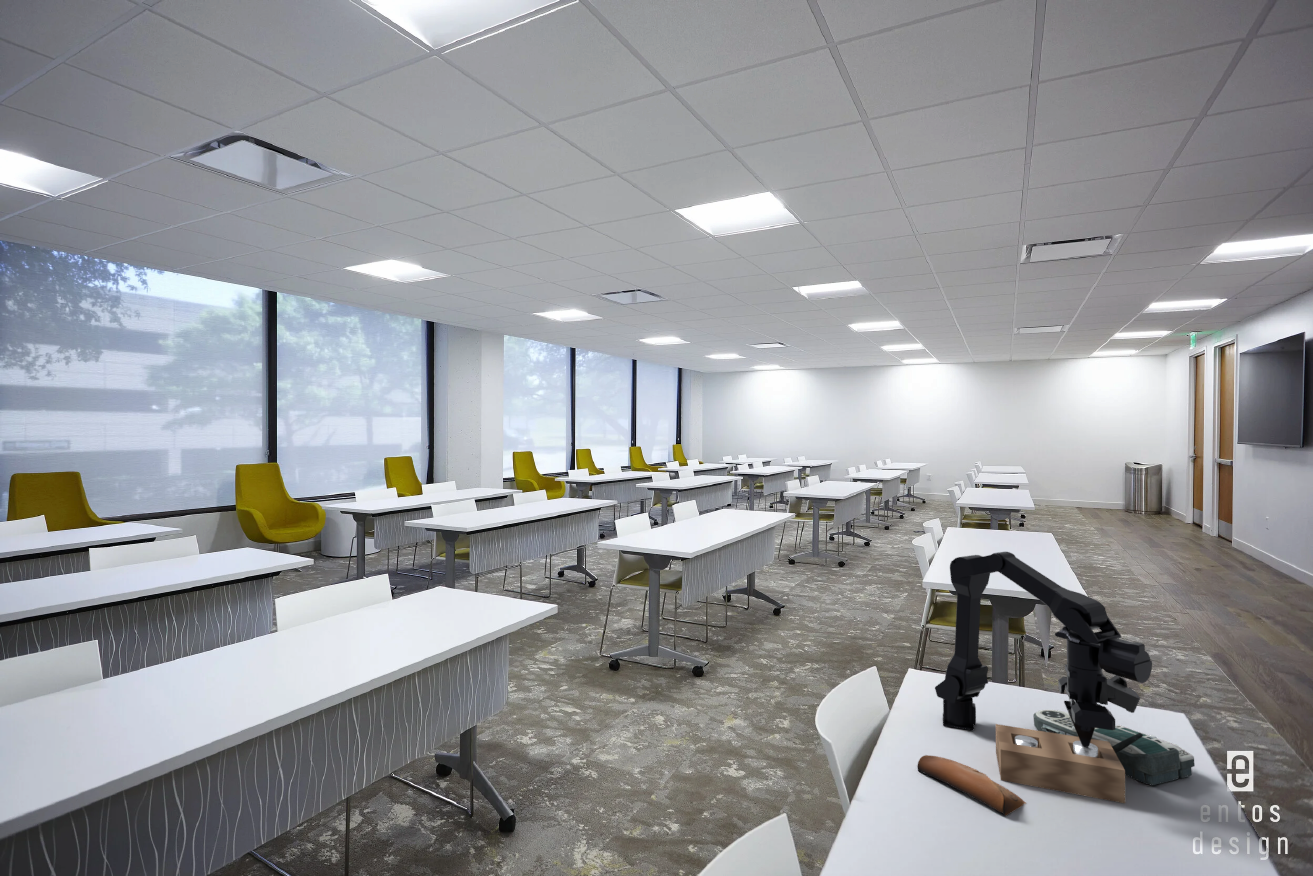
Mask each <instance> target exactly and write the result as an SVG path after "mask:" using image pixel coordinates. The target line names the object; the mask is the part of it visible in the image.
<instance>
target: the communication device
mask: <svg viewBox="0 0 1313 876" xmlns="http://www.w3.org/2000/svg"><path fill="white" fill-rule="evenodd" d="M1033 726H1034V727H1035V729H1036V730H1037V731H1044V732H1050V733H1057V734H1063V735H1069V736H1076V737H1078V734H1077V732H1076V730H1075V727H1074V725H1073V723H1072V720H1071V718H1070V715H1069V713H1068V711H1063V710H1059V709H1057V710H1056V709H1041V710H1038V711H1036V712H1034V714H1033ZM1092 739H1095V740H1102V741H1108V742H1109V743H1110V744H1111V746H1112V748H1113V750H1114V752H1115V753H1116V755H1117V757H1118V759H1119V761H1120V762H1121V764H1122V766H1123V768H1124V770H1125V777H1128V778H1131V779H1133V780H1136V781H1138V782H1141V783H1143V784H1147V785H1150V786H1156V785H1160V784H1164V783H1168V782H1171V781H1176V780H1178V779H1179V778H1180V779H1183V778H1187V777H1191V776H1192V775H1193V772H1192V771H1193V770H1192V768H1194V767H1195V765H1196V764H1195V756H1194V755H1193V754H1191V753H1189V752H1188V751H1187V750H1185V749H1183V748H1182V747H1181V746H1179V745H1177V744H1175V743H1173V742H1169V741H1168V740H1164V739H1161V738H1159V737H1157V736H1156V735H1153V734H1152V735H1150V734H1146V733H1143V732H1140V731H1138V730H1135V729H1132V728H1130V727H1126V726H1123V725H1120V724H1118V725H1117V724H1115V730H1107V729H1100V728H1095V730H1094V733H1093V736H1092Z"/></svg>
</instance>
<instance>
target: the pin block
mask: <svg viewBox="0 0 1313 876" xmlns="http://www.w3.org/2000/svg"><path fill="white" fill-rule="evenodd" d="M1018 735H1023V736H1029V737H1032V738H1034V739H1036V740H1037V741H1038V748H1035V747H1029V746H1023V745H1017V744H1015V736H1018ZM1074 741H1080V739H1079V737H1076V736H1069V735H1063V734H1057V733H1050V732H1044V731H1038V730H1037V729H1036V730H1035V729H1029V728H1023V727H1015V726H1010V725H1003V724H997V723H995V755H996V760H997V766H998V771H999V778H1000V781H1003V782H1008V783H1015V784H1020V785H1023V786H1024V785H1025V786H1031V787H1036V788H1042V789H1047V790H1052V791H1057V792H1062V793H1067V794H1073V795H1079V796H1083V797H1084V796H1085V797H1087V798H1088V797H1089V798H1094V799H1101V800H1106V801H1109V802H1110V801H1111V802H1116V803H1121V804H1126V775H1125V770H1124V768H1123V766H1122V764H1121V762H1120V761H1119V759H1118V757H1117V755H1116V753H1115V752H1114V750H1113V748H1112V746H1111V744H1110V743H1109V742H1108V741H1102V740H1095V739H1091V742H1090V743H1092V744H1094V745H1096V746H1097V747H1098V758H1096V757H1090V756H1084V755H1078V754H1073V742H1074Z"/></svg>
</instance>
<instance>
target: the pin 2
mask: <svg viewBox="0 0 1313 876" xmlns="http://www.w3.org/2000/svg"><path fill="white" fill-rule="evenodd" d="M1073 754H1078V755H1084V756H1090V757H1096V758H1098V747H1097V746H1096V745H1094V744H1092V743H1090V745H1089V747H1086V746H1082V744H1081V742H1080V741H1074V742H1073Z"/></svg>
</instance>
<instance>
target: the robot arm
mask: <svg viewBox="0 0 1313 876" xmlns="http://www.w3.org/2000/svg"><path fill="white" fill-rule="evenodd" d="M993 573H999V574H1001V575H1002V576H1004V577H1005V578H1007V579H1008V580H1010V581H1011V582H1013V583H1015V584H1016V585H1017V586H1018V587H1019V588H1021V589H1023V590H1024V591H1026V592H1027V593H1028V594H1031V596H1033V597H1035V598H1036V599H1038V600H1039V601H1040V602H1042V603H1043V604H1044V605H1046V606H1047V607H1048V609H1050V611H1051V613H1052V615H1053V616H1054V617H1055V618H1056V619H1057V620H1058V621H1059V622H1060V623H1061V624H1062V625H1063V627H1062V628H1061V629H1059V630H1058V631H1057V632H1055V633H1054V636H1055V637H1056V638H1060V639H1065V640H1066V664H1064V671H1065V672H1066V676H1062V677H1061V678H1060V679H1058V681H1057V683H1058V684H1057V685H1058V691H1059V693H1060V694H1061V695H1065V692H1066V696H1067V697H1068V700H1064V701H1063V704H1064V706H1065V708H1066V710H1067V711H1066V712H1067V713H1069V715H1070V718H1071V720H1072V723H1073V725H1074V727H1075V730H1076V732H1077V734H1078V737H1079V739H1080V742H1081V744H1082V746H1086V747H1089V745H1090V742H1091V739H1092V736H1093V733H1094V730H1095V728H1100V729H1107V730H1115V726H1116V719H1115V716H1114V715H1113V713H1112V712H1111V711H1110V710H1109V709H1108V708H1107V707H1106V706H1108V705H1109V703H1110V704H1113V705H1114V706H1117V707H1120V708H1122V709H1124V710H1125V711H1126V712H1129V713H1131V714H1134V713H1135V712H1136V710H1137V706H1138V705H1139V702H1140V700H1141V696H1140V695H1139V694H1138V693H1137V692H1136V691H1135V690H1134V689H1133V688H1132V687H1128V682H1127V680H1129V681H1130V680H1131V681H1134V682H1137V683H1141V684H1143V683H1145V682H1147V681H1148V680H1149V678H1150V676H1151V674H1152V670H1153V661H1152V660H1151V656H1150V654H1149V653H1148V652H1147V651H1146V647H1145V646H1146V645H1145V644H1144V643H1141V642H1138V641H1129V640H1125V639H1122V634H1121V633H1120V631H1118V629H1117V628H1116V626H1115V625H1114V623H1113V622H1112V620H1111V619H1110V618H1109V616H1108V613H1107V611H1106V607H1105V606H1104V605H1103V604H1102V603H1101V602H1100V601H1098V600H1096V599H1094V598H1091V597H1090V596H1088V595H1085V594H1083V593H1080V592H1076V591H1074V590H1070V589H1067V588H1065V587H1063V586H1061V585H1060V584H1058V583H1057V582H1055V581H1054V580H1052V579H1050V578H1049V577H1047V576H1046V575H1044V574H1042V573H1041V572H1039V571H1038V570H1036V569H1035V568H1033V567H1032V566H1031V565H1028V564H1027V563H1025V562H1024V561H1023V560H1021V559H1020V558H1018V557H1016V555H1015V554H1014V553H1012V552H1010V551H999V552H993V553H992V554H989V555H985V556H983V555H979V554H972V555H964V556H958V557H955V558H953V560H951V561H950V565H949V574H950V575H949V576H950V582H951V584H952V586H953V588H954V590H955V591H956V608H955V609H956V611H955V612H956V613H955V616H956V617H955V637H954V639H955V640H954V654H953V655H952V658H951V659H950V660H949V663H948V664H947V667H946V670H945V677H944V680H942V681H941V682H940V683H938V684H937V685H936V686H934V689H935V690H934V691H935V694H936V696H937V698H940V699H942V700H943V701H942V705H943V707H942V708H943V709H942V710H943V712H942V726H944V727H949V728H956V729H961V730H967V731H975V726H976V725H977V714H976V713H977V709H976V708H977V707H976V703H975V702H974V701H973V698H978V697H979V695H980V693H981V691H983V690H985V687H986V685H987V684H989V680H988V672H989V667H988V666H987V665H984V664H982V662H981V660H980V657H979V645H980V644H979V643H980V642H979V641H980V625H981V624H980V623H981V621H980V620H981V601H982V600H981V597H982V595H983V593H984V591H985V590H986V588H987V586H988V584H989V582H990V581H989V580H990V576H991V574H993ZM1097 629H1099V630H1100V631H1096V632H1094V630H1097ZM1103 671H1104V672H1105V673H1107V674H1109V675H1113V676H1112V677H1111V678H1108V677H1106V676H1105V675H1104V673H1103ZM1126 679H1127V680H1126ZM1108 702H1109V703H1108ZM1104 705H1106V706H1104Z"/></svg>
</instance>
